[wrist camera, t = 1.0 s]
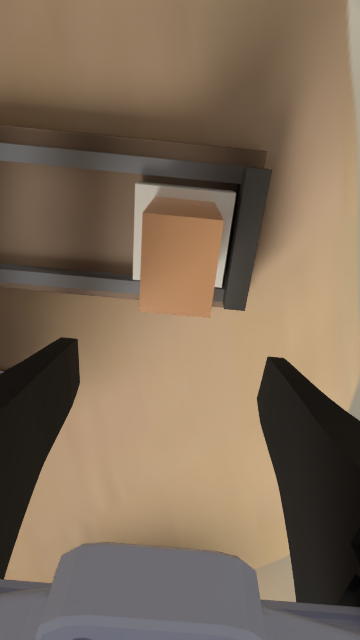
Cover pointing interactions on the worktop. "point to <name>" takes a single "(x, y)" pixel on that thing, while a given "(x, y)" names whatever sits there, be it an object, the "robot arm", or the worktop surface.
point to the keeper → (180, 246)
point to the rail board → (111, 208)
